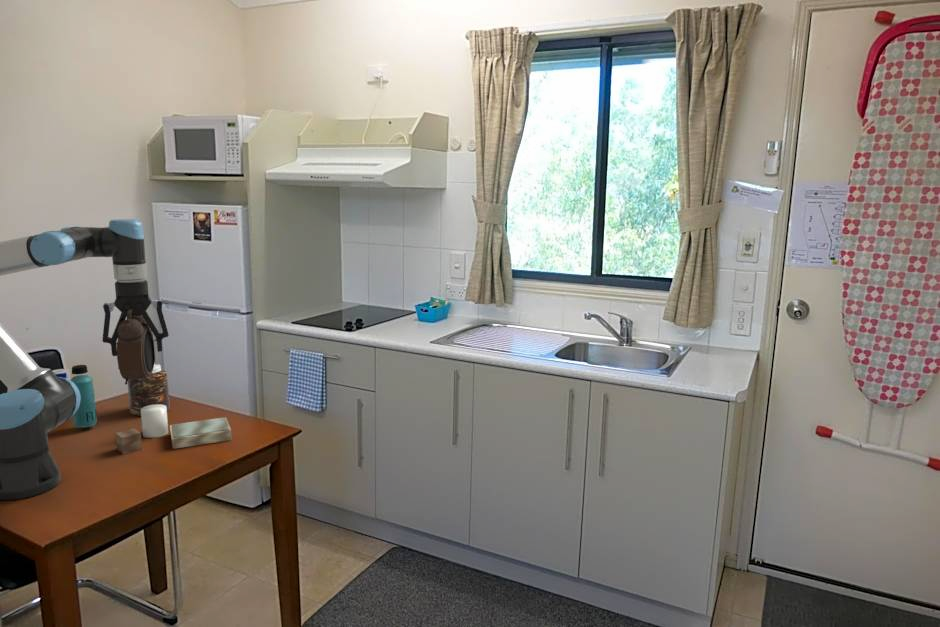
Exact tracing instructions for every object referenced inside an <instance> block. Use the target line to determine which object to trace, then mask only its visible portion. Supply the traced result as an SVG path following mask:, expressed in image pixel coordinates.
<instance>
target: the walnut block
mask: <svg viewBox="0 0 940 627" xmlns="http://www.w3.org/2000/svg"><path fill="white" fill-rule="evenodd" d="M114 434H115V443H116V450H117V451H119V452H120V453H121V454H122V455H127V454H129V453H133V452H137V451H141V450H143V444H142V433H141V432H140V431H139V430H138V429H136V428H130V429H127V430H122V431H118V432H115V433H114Z"/></svg>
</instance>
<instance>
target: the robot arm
mask: <svg viewBox="0 0 940 627" xmlns="http://www.w3.org/2000/svg"><path fill="white" fill-rule="evenodd" d="M145 249H146V248H145V236H144V229H143V224H142V222H141V220H138V219H131V218H130V219H129V218H128V219H126V218H125V219H122V218H121V219H110V220H109V222H108V226H105V227H97V226H96V227H93V226H89V227H88V226H70V227H69V226H68V227H62V228H61V229H60V230H48V231H45V232H42V233H38V234H35V235H29V236H24V237H19V238H13V239H10V240H9V239H7V240H4V241H0V276H6V275H10V274H17V273H20V272H26V271H30V270H34V269H40V268H43V267H49V266H50V267H51V266H57V265H62V264H64V263H65V264H66V263H68V262H73V261H77V260H82V259H86V258H110V257H111V258H112V269H113V279H114V280H115V282H114V288H115V289H114V290H115V300H114V301H113V302H109V303H107V302H104V303H103V304H102V308H103V310H104V323H103V332H102V342H103V343H104V344H105V343H107V344H110V348H111V349H110V350H111V355H112V357H117V342H118V326H119V324H120V323H121V322H122V321H124V320H127V311H128V309H130V308H133V311H132V314H131V316H134V315H135V316H141V315H142V316H143V318H144V319H145V321H146V322H147V324H148V326H149V327H150V329H151V331H152V334H153V337H154V339H153V343H154V355H155V363H154V364H156V365H160V363H159V353H161V352H162V351H163V342H162V341H163V339H164V338H168V337H169V332H168V328H167V324H166V320H165V317H164V313H163V310H162V309H163V301H162V299H157V300H156V299H151V298H150V294H149V285H148V284H149V283H148V281H147V278H148V274H147V273H148V270H147V261H146V250H145ZM151 305H152V307H153V308H154V309H156V314H157V316H158V320H159V323H160V328H161V331H162V332H160V331H159V330H158V329H157V327H156V325H155V323H154V322H153V320H152V319H151V317H150V316H149V314H148V312H147V310H148V309H149V307H150V306H151ZM115 307H116V309H117V310H119V312H121V313H120V315H119V318H118V321H117V324H116V326H115V328H114V331H113V333H112V336H111V337H110V336H109V332H110V322H111V312H113V311H114V308H115ZM117 369H118V370H119V366H118V365H117ZM52 371H53V370H52V369H51V368H45V367H40V365H38V363H37V362H36V361H35V360H34V359H33V358H32V357H31V355H29V353H28V352H27V351H26V350H25V349H24V348H23V346H22V345H21V344H20V342H18V341H17V339H16V338H15V337H14V335H12V334H11V332H10V331H8V330H7V328H6V327H5V326H4V324H3V323H2V322H0V381H1V382H2V383H3V384H4V386H6V388H7V392H3V393H1V394H0V501H12V500H13V501H14V500H22V499H26V498H30V497H34V496H38V495H41V494H42V493H46V492H48V491H50V490H52V489H54V488H55V487H56V486H58V485H59V484H60V483H61V480H62V478H61V471H60V468H59V467H58V464H57V463H56V461H55V459H54V457H53V456H52V454H51V452H50V445H49V437H48V433H49V432H51V431H53V430H55V429H56V428H57V427H59V426H61V425H62V424H64V423H66V422H67V421H68V420H70V419H72V416H73V415H74V414H75V413H76V411H77V410H78V408H79V406H80V400H81V396H80V392H79V389H78V388H77V386H76V385H75V384H74V383H73V382H72V381H71V380H69V379H67V378H62V377H57V376H56V375H55V374H54V373H53V372H52Z"/></svg>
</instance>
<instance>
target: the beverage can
mask: <svg viewBox="0 0 940 627" xmlns="http://www.w3.org/2000/svg"><path fill="white" fill-rule="evenodd" d="M51 371H52V372H53V373H54V374H55V375H56V376H57V377H62V378H67V379H69V380H71V379H72V378H71V371H70V369H69V368H58V369H54V370H51Z"/></svg>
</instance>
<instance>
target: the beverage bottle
mask: <svg viewBox="0 0 940 627" xmlns="http://www.w3.org/2000/svg"><path fill="white" fill-rule="evenodd" d="M88 372H89V371H88V366H87V365H86V364H77V365H73V366H72V367H71V374H72V375H74V376H73V377H71V378H70V379H71V381H72V382H73V383H74V384H75V385H76V386H77V388H78V389H79V392H80V396H81V400H80V406H79V408H78V410H77V411H76V413H75V414H74V415H73V416H72V417H71V419H72V421H73V422H72V423H73V425H74V427H75V428H88V427H93V426H94V425H96V424H97V423H98V413H97V408H96V397H95V389H94V383H93V377H91V376H89V375H88V374H87V373H88Z"/></svg>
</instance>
